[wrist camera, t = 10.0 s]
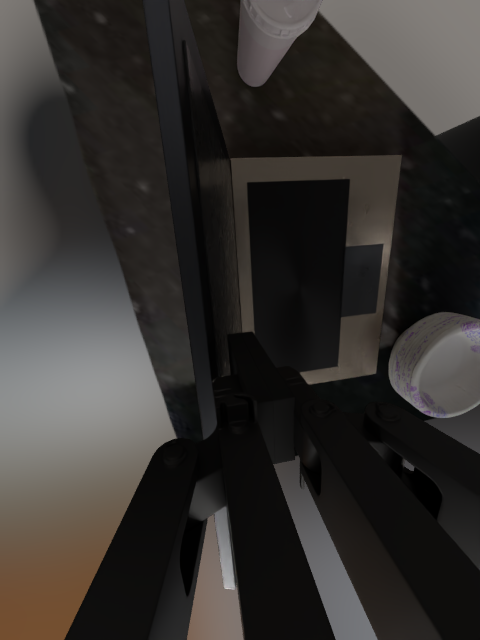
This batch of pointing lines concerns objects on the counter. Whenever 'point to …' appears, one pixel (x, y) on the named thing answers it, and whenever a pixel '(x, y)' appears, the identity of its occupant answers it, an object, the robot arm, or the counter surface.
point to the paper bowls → (438, 364)
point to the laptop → (315, 258)
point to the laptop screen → (197, 213)
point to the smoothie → (269, 34)
